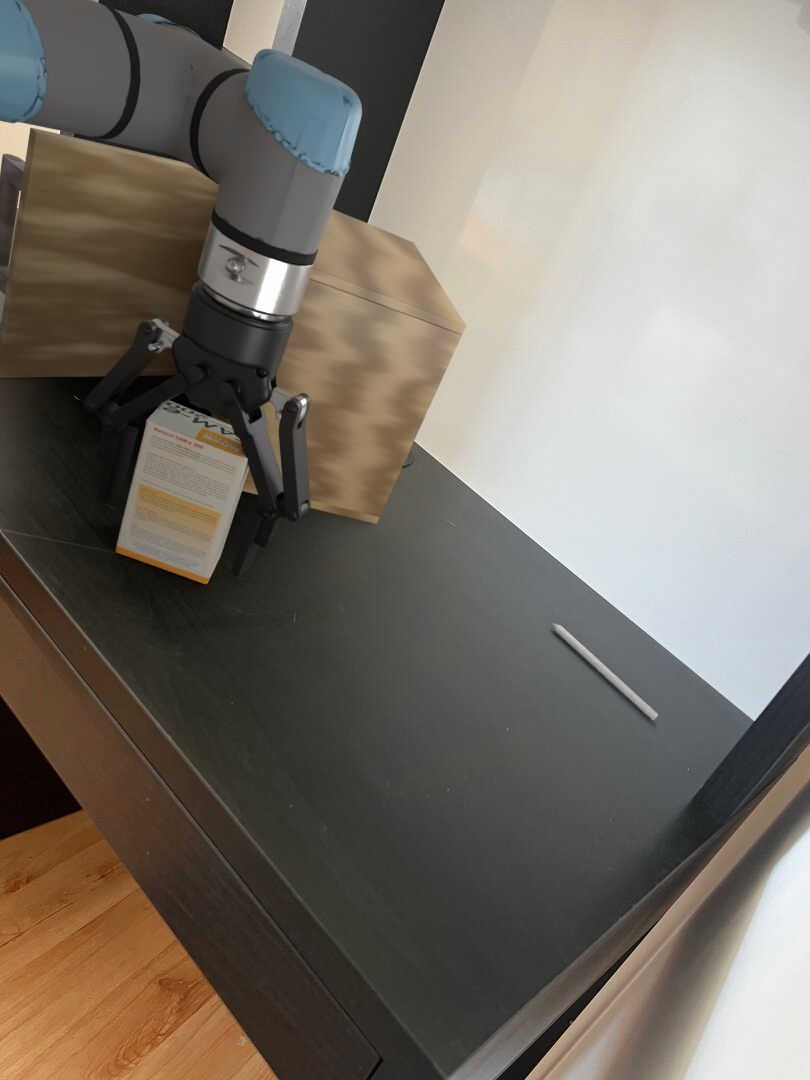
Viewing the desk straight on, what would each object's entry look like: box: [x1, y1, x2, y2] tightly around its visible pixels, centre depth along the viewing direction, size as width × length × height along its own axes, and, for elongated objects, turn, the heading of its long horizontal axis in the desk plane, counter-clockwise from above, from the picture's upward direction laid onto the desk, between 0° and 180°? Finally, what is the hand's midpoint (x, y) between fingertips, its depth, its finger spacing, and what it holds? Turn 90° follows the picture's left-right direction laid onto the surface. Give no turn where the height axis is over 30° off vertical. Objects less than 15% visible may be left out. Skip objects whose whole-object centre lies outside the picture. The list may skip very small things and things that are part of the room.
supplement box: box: [115, 400, 249, 585], centre depth 71 cm, size 8×5×13 cm, turn 88°
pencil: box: [552, 622, 659, 721], centre depth 89 cm, size 1×1×15 cm
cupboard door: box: [0, 127, 219, 379], centre depth 90 cm, size 8×26×24 cm, turn 141°
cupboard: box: [210, 208, 467, 525], centre depth 94 cm, size 18×26×24 cm
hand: (175, 533), depth 73 cm, fingers open, 12 cm apart
